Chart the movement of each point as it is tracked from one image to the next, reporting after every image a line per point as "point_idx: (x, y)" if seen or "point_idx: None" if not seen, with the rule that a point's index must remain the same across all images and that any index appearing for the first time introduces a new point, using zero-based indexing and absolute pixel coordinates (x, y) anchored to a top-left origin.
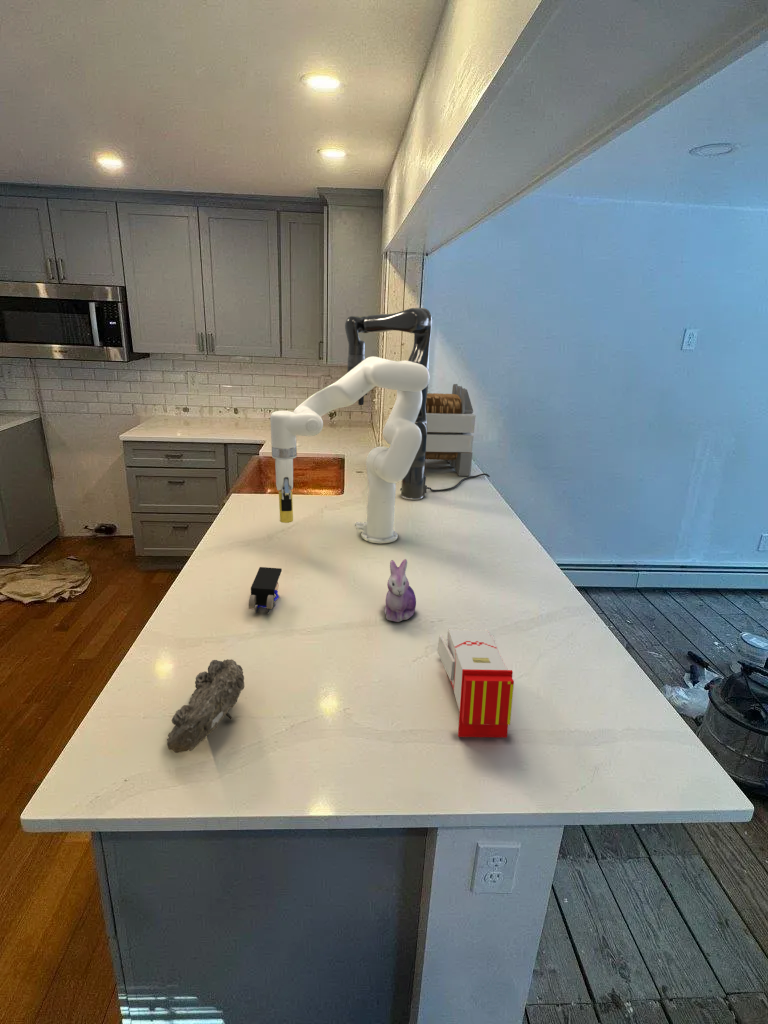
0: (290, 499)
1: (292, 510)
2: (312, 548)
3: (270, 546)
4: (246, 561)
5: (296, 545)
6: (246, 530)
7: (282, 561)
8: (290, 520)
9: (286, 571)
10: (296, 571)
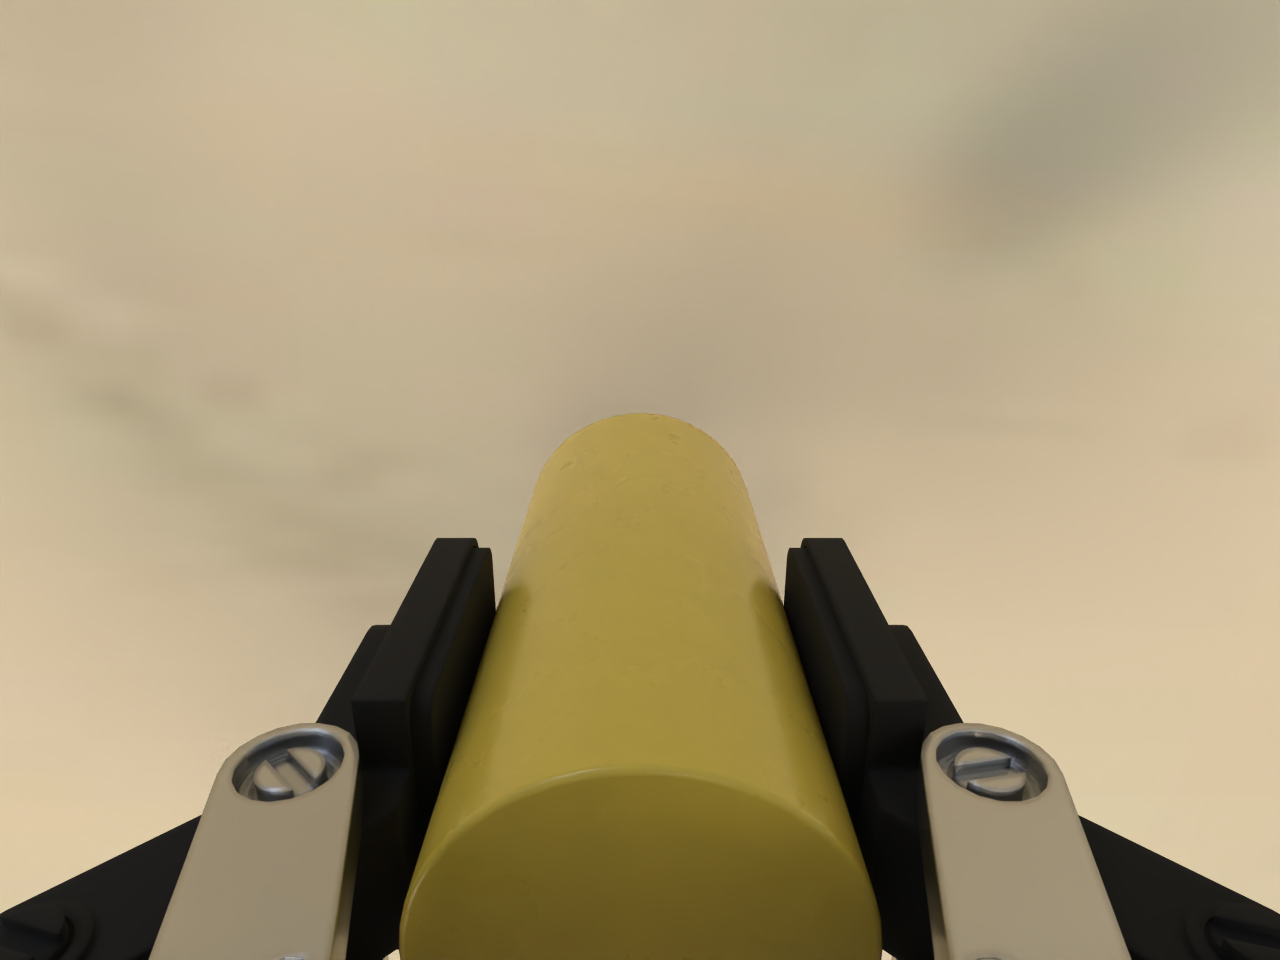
0: (916, 717)
1: (696, 493)
2: (696, 94)
3: None
4: None
5: (583, 284)
6: (154, 752)
7: (977, 459)
8: (737, 472)
9: (1219, 436)
10: (1256, 339)
